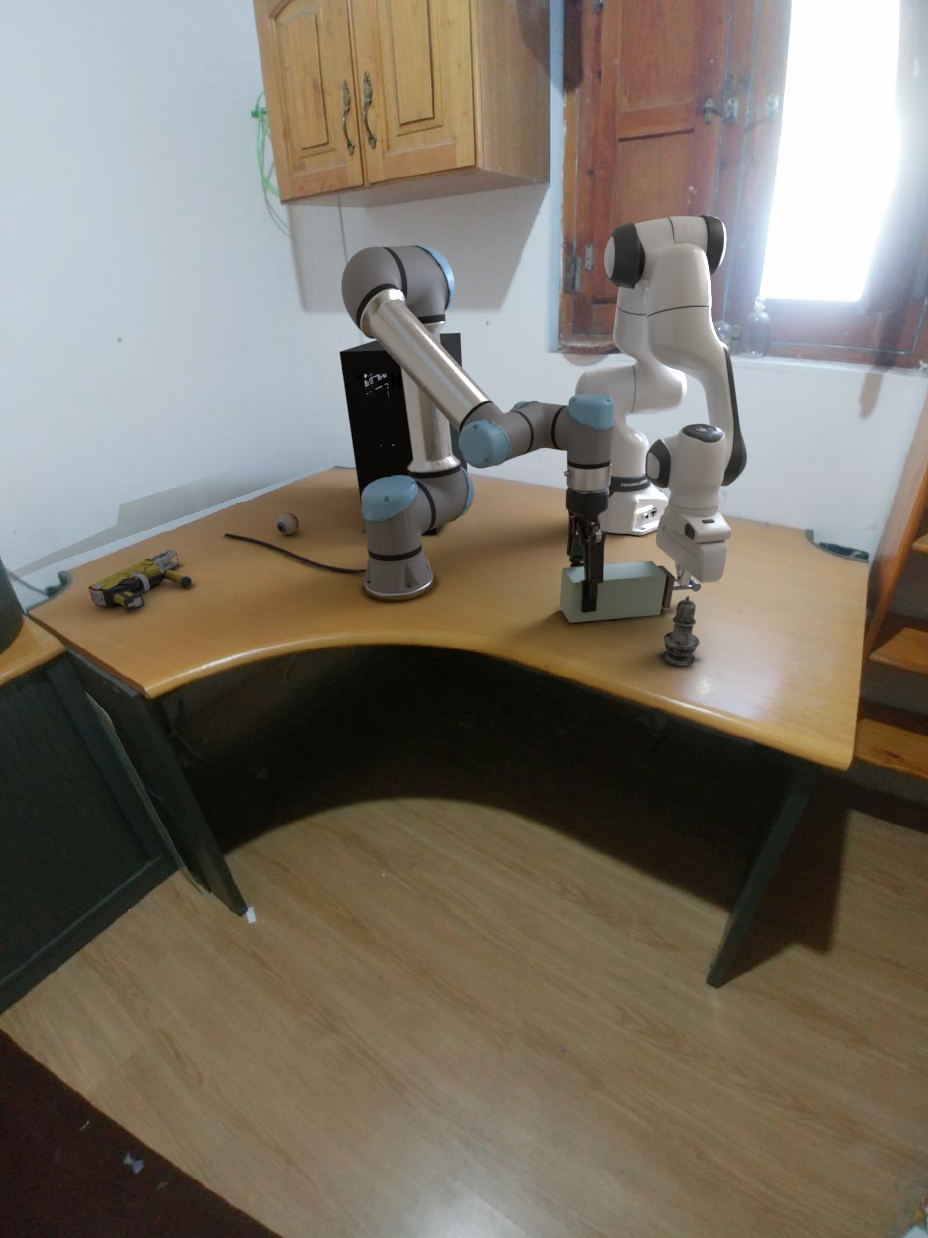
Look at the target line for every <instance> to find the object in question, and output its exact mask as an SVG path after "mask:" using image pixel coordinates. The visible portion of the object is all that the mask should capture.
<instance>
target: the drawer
mask: <svg viewBox="0 0 928 1238" xmlns="http://www.w3.org/2000/svg"><path fill="white" fill-rule="evenodd" d="M657 566H658V567H659V568H660V569H661V570H662V571H663V572H664V573H665V574H666V575H667V576H666V581H665V587H664V593H663V599H662V605H661V608H663V609H670V608H671V603H672V598H673V597H672V596H673V591H683V590H684V591H685V590H692V592H699V591H700V590H701V589H702V584H700V583H699V581H698V580H697V579H696V578H695V577H693V576H691V578H690V581H689V585H688V586H680V585H675V582H676V583H677V577H676V576H674V574H672V573H671V572H670V570H668V569H667V568H666V567H665V566H664V565H663V564H661V565H657ZM674 585H675V586H674Z"/></svg>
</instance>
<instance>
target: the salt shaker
mask: <svg viewBox="0 0 928 1238" xmlns="http://www.w3.org/2000/svg"><path fill="white" fill-rule="evenodd" d="M696 608H697V606H696V604H695V601H692V600H690V596H688V595H687V596H686V597H685V599H682V600H680V601H679V602H678V603H677V606H676V611H675V616H674V617H673V618H672V622H673V629H672V631H668V632H666V633H665V634H664V635H663V637H662V641H663V642H664V646H665V649H666V650H664V652H663V653H662V658H663V660H665V662H667V663H669V664H671V665H673V666H679V667H686V666H687V667H688V666H691V665H692V664H693V663H694V662H695V661H696V657H695V655H694V653H695V651H696V650H697V649H698V647H699V645H700V639H699V638H698V637H697V636H696V635H694V634H693V628H694V626H695V625H696V623H697V621H696V619H695V614H696Z"/></svg>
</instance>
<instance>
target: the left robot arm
mask: <svg viewBox="0 0 928 1238" xmlns="http://www.w3.org/2000/svg"><path fill="white" fill-rule="evenodd" d="M455 291H456V284H455V277H454V273H453V270H452V268H451V266H450V263H449V262H448V260H447V259H446V257H444V255H442V253H441V252H440V251H438V249H435V248H433V247H430V246H423V245H418V244H416V245H412V244H411V245H397V246H396V245H395V246H368V247H365V248H362V249H360V250H358V251H357V252H356V253H355V254H353V255H352V256H351V258H350V259H349V260H348V262H347V263H346V265H345V268H344V269H343V273H342V277H341V297H342V301H343V304H344V307H345V309H346V312H347V314H348V315H349V317H350V319H351V320H352V322H353V323H354V324H355V326H356V328H358V329H359V330H360V332H361V333H362V334H363V335H364V336H365V337H366V338H368V339H371V340H377V341H378V342H379V343H380V344H381V345H382V346H383V347H384V349H385V350H386V351H387V352H388V353H389V354H390V355H391V356H392V358H393V359H394V360H395V361H396V362H397V363H398V364H399V365H400V367H401V374H402V381H403V388H404V396H405V403H406V410H407V418H408V425H409V432H410V439H411V447H412V454H413V459H412V461H411V462H410V464H409V465H408V467H407V469H408V476H404V475H396V476H391V477H385V478H381V479H378V480H376V481H374V482H372V483H370V484H369V485H368V486H367V487H366V488H365V489H364V490H363V492H362V496H361V500H362V507H361V516H362V519H363V518H364V521H363V526H364V525H365V528H364V533H365V539H366V545H367V551H368V560H367V564H366V565H367V566H366V568H365V569H363V568H362V569H352V568H343V567H337V566H331V565H327V564H323V563H319V562H316V561H314V560H310V559H308V558H306V557H303V556H300V555H298V554H295V553H293V552H290V551H288V550H286V549H283V548H281V547H278V546H276V545H274V544H271V543H268V542H265V541H262V540H260V539H259V540H258V539H255V538H252V537H251V538H250V537H247V536H243V535H237V534H234V533H233V534H232V533H225V534H224V536H225V537H229V538H234V539H239V540H243V541H249V542H251V543H255V544H259V545H262V546H265V547H268V548H270V549H273V550H275V551H279V552H280V553H283V554H286V555H288V556H290V557H293V558H295V559H297V560H299V561H302V562H304V563H308V564H311V565H313V566H316V567H319V568H323V569H326V570H332V571H336V572H342V573H351V574H362V573H363V574H364V573H365V574H364V581H363V582H364V583H363V584H364V590H365V592H366V594H367V595H368V596H369V597H370V598H373V599H375V600H378V601H384V602H401V601H409V600H413V599H416V598H419V597H421V596H424V595H425V594H427V593H428V592H430V591H431V589H432V588H433V586H434V583H435V581H434V573H433V571H432V569H431V566H430V562H429V559H428V558H427V557H426V556H425V553H424V551H423V541H422V535H423V534H422V533H424V532H427V531H429V530H431V529H434V528H436V527H438V526H441V525H443V524H444V525H445V524H449V523H452V522H454V521H456V520H458V519H459V518H461V517H463V516H464V515H465V514H466V513H467V512H468V511H469V510H470V508H471V506H472V505H473V501H474V495H475V489H474V483H473V480H472V477H471V476H468V475H469V473H468V470H467V471H466V470H465V469H464V468H462V467H461V466H460V460H459V459H457V458H456V457H455V456H454V455H453V454H452V447H451V438H450V428H449V422H450V423H451V424H452V425H453V426H454V427H455V429H456V430H457V431H458V432H459V433H460V436H459V448H460V450H461V451H462V454H463V458H464V459H465V461H466V462H467V465H469V466H470V467H473V468H474V469H475V468H476V469H486V468H491V467H496V466H500V465H502V464H504V463H505V462H508V461H510V460H512V459H515V458H518V457H522V456H525V455H527V454H530V453H532V452H536V451H538V450H540V449H549V450H556V451H565V452H566V470H565V471H563V476H564V477H566V486H567V488H566V489H565V508H566V510H567V515H568V516H567V517H568V525H567V539H566V540H567V541H566V552H565V553H566V556H567V557H568V561H569V563H570V564H569V567H578V566H584V575H585V580H581V583H582V604H581V611H582V613H585V612H593V611H596V606H597V589H598V583H603V580H604V579H603V577H604V564H605V543H606V542H605V541H606V535H607V532H605V531H602V530H599V529H600V521H599V517H598V516H599V514H601V513H602V512H604V511H606V510H607V508H608V503H609V489H608V488H607V487H609V485H610V478H611V450H612V438H613V428H614V424H615V423H614V401H613V399H612V397H610V396H609V395H607V394H602V393H583V394H577V395H575V394H574V395H572V396H571V397H570V398H569V399H568V404H557V403H550V402H549V403H548V402H542V401H538V400H531V401H528V400H527V401H525V400H523V401H519V402H516V403H515V404H514V405H513V407H512V408H511V409H510V410H509V411H507V412H504V411H502V410H501V408H500V407H498V406H497V404H496V403H494V401H493V400H492V399H491V398H490V397H489V396H488V395H487V394H486V393H485V391H484V390H483V389H482V388H481V387H480V386H479V385H478V384H477V382H476V381H475V380H474V379H473V378H472V377H471V376H470V375H469V374H468V373H467V371H466V370H465V369H464V368H463V366H462V367H461V366H460V365H459V364H458V363H457V362H456V361H455V360H454V359H453V357H452V356H451V355H450V354H449V353H448V352H447V351H446V350H445V349H444V347H443V346H442V345H441V344H440V333H441V331H442V329H443V328H444V326H445V325H446V323H447V320H446V319H447V318H446V311H447V310H448V309H449V308H450V307H451V305H452V303H453V302H452V301H453V299H454V298H455ZM361 500H360V501H361ZM444 525H443V526H444Z"/></svg>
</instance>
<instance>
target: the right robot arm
mask: <svg viewBox="0 0 928 1238" xmlns="http://www.w3.org/2000/svg"><path fill="white" fill-rule="evenodd" d="M726 246H727V231H726V228H725V225H724V223H723V222H722V219H720V218H719V217H716V216H714V215H713V216H712V215H706V214H701V215H699V216H689V215H688V216H687V215H673V216H666V217H664V218H655V219H651V220H645V221H640V222H635V223H634V222H627V223H624V224H621V225H619V226H617V227H614V229H613V230H612V232H611V233H610V234H609V236H608V239H607V243H606V246H605V250H604V256H603V257H604V258H603V264H604V270H605V273H606V278H607V280H608V281H609V282H610V283H611V284H612V285H613V286H615V287H618V292H617V299H616V307H615V315H614V321H613V332H612V339H613V344H614V345H615V347H616V348H617V349H618V350H619V351H620V352H621V353H623V354H624V355H626V356H628V357H631V358H633V359H635V360H636V361H635V363H634V364H631V365H619V366H603V367H598V368H594V369H590V370H587V371H584V372H583V373H582V374H581V376H580V377H579V378H578V379H577V382H576V385H575V390H574V395H577V394H583V393H602V394H607V395H609V396H610V397H612V399H613V401H614V423H615V424H614V428H613V438H612V450H611V478H610V485H609V487H607V488H608V489H609V503H608V508H607V510H606V511H604V512H602V513H601V514H599V516H598V517H599V521H600V529H599V530H600V531H605V533H611V534H623V535H625V534H626V535H632V536H633V535H634V536H645V535H646V534H650V533H652V532H654V531H656V534H655V535H656V536H655V544H656V547H657V548H659V549H660V550H661V551H662V552H663V553H664V554H666V555H667V556H668V557H669V558H671V559H672V560H673V561H674V567H675V572H676V575H677V576H676V578H677V581H676V583H677V584H678V586H688V585H689V581H690V578H691V577H693V578H694V579H695V580H696V581H697V582H700V583H701V584H710V583H711V584H712V583H717V582H719V581H720V580H721V579H722V577H723V575H724V572H725V567H726V561H727V555H728V545H727V542H726V541H727V540H730V539H731V536H732V529H731V526H730V525H729V524H728V522H727V521H726V519H725V518H724V517H723V514H722V512H721V510H720V504H721V503H720V501H721V499H720V488H721V487H728V486H730V485H732V483H734V482H735V481H736V480H737V479H738V478H739V477H740V476H741V475H742V473H743V472H744V470H745V469H746V466H747V463H748V453H747V447H746V444H745V440H744V437H743V434H742V430H741V424H740V415H739V408H738V407H739V406H738V400H737V393H736V391H737V390H736V384H735V377H734V370H733V363H732V358H731V353H730V351H729V349H728V348H729V347H728V346H727V345H726V344H725V343H724V342H722V341H720V339H719V337H718V335H717V334H716V331H715V328H714V324H713V320H712V291H711V289H712V288H711V287H712V286H711V278H710V277H711V276H713V275H714V274H715V273H716V272H717V271H718V269H719V268H720V266H721V265H722V262H723V260H724V257H725V253H726V248H727V247H726ZM686 375H688V376H690V377H692V378H694V379H695V380H696V381H698V382H699V383H700V385H701V386H702V387H703V389H704V393H705V398H706V399H705V400H706V406H707V413H708V419H709V421H708V422H709V424H706V423H692V424H687V425H685V426H684V427H682V428H681V429H680V430H679V431H678V433H677V434H674V435H670V436H666V437H661V438H658V439H656V440H655V441H654V442H653V443H652V444H651V446H650V443H649V440H648V438H647V437H646V435H645V434H644V433H643V432H641V431H639V430H638V429H636V428H634V427H631V426H629V425H627V420H626V419H627V416H634V415H636V416H637V415H657V414H661V413H662V414H663V413H666V412H670V411H673V410H676V409H678V408H680V405H681V404H682V403H683V401H684V400H685V398H686V395H687V391H688V381H687V378H686V377H687V376H686ZM649 446H650V447H649ZM656 487H657V488H656ZM659 488H660V489H659ZM661 489H668V490H669V491H670V495H669V498H668V497H667V496H666V495H665V494H664V493H663V492H662V490H661Z"/></svg>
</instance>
